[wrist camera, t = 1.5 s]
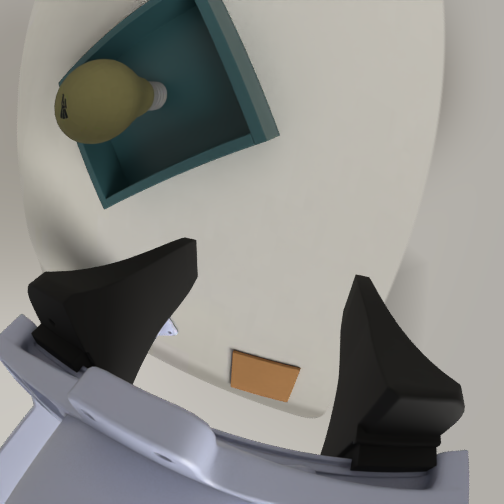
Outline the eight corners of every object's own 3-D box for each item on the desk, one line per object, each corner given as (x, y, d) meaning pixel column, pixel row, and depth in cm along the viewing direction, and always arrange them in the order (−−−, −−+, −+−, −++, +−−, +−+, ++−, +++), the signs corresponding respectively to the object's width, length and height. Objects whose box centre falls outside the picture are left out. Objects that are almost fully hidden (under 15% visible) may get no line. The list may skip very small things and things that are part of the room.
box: (129, 195, 25) (103, 209, 22) (86, 80, 20) (57, 82, 17) (280, 135, 19) (267, 141, 16) (216, -11, 14) (193, -27, 10)
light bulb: (198, 113, 19) (103, 128, 11) (145, 137, 21) (52, 167, 13) (178, 53, 17) (80, 39, 9) (128, 82, 19) (32, 92, 11)
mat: (287, 400, 34) (287, 402, 33) (231, 384, 35) (230, 386, 35) (300, 367, 30) (299, 370, 29) (233, 349, 31) (232, 352, 31)
